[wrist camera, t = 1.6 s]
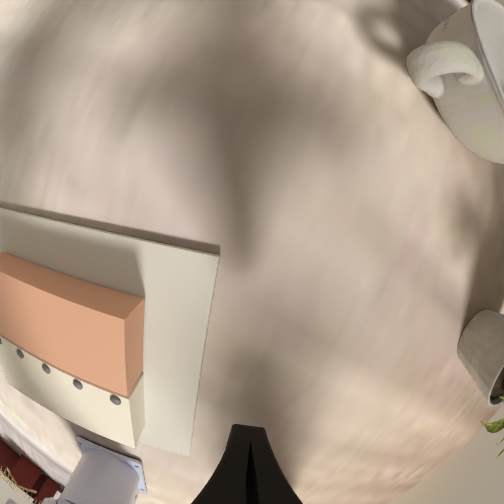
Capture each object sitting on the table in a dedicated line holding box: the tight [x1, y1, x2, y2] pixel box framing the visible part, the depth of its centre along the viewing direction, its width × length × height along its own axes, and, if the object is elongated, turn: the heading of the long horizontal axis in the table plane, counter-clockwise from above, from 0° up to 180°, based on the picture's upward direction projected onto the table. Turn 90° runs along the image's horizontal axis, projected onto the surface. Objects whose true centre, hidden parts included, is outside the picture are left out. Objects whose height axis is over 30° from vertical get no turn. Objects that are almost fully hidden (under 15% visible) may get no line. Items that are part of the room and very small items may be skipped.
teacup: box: [406, 0, 504, 164], centre depth 9 cm, size 14×11×8 cm
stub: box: [0, 252, 145, 396], centre depth 14 cm, size 6×14×3 cm, turn 78°
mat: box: [0, 207, 220, 456], centre depth 17 cm, size 19×24×1 cm
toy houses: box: [0, 438, 60, 504], centre depth 22 cm, size 45×20×10 cm, turn 50°
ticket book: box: [0, 334, 146, 448], centre depth 16 cm, size 6×14×3 cm, turn 78°
